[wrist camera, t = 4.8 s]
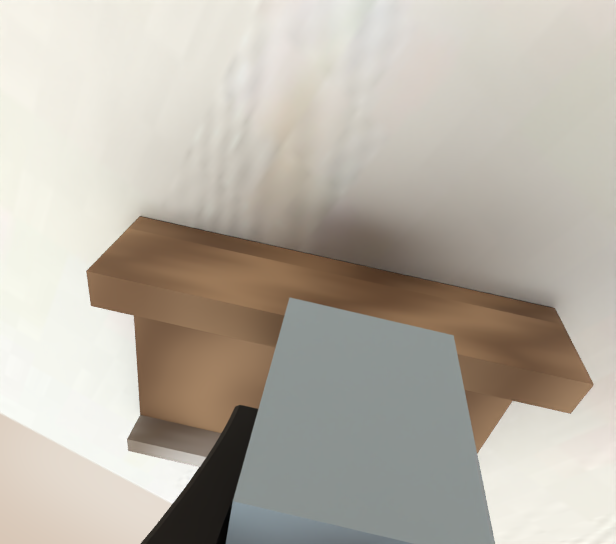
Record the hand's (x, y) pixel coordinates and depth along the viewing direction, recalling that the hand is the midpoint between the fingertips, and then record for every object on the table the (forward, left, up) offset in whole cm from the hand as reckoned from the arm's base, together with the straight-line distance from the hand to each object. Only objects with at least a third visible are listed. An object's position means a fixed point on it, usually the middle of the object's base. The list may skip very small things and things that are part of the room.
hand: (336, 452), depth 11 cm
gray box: (0, 0, -2) cm, 2 cm away
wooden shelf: (0, +6, -8) cm, 11 cm away
